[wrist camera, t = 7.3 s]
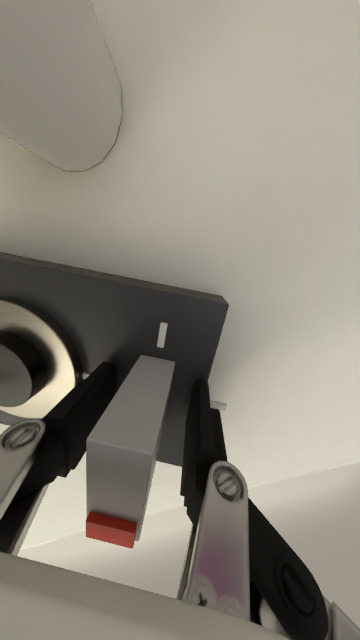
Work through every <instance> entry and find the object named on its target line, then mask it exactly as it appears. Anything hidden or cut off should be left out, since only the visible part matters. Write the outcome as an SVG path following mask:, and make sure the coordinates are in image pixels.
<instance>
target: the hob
mask: <svg viewBox="0 0 360 640" xmlns="http://www.w3.org/2000/svg"><path fill="white" fill-rule="evenodd" d="M0 297H5V298H12V299H16V300H19V301H23V302H25V303H28V304H30V305H32V306H34V307H36V308H38V309H39V310H41V311H42V312H44V313H45V314H47V315H48V316H49V317H51V318H52V319H53V320H54V321H55V322H56V323H57V324H58V325H59V326H60V327H61V328H62V329H63V330H64V331H65V333H66V334H67V335H68V337H69V338H70V340H71V341H72V343H73V345H74V347H75V349H76V351H77V353H78V356H79V359H80V364H81V370H82V378H81V381H84V380H85V379H86V378H87V377H88V376H89V375H90V374H91V373H92V372H93V371H94V370H95V369H96V368H97V367H98V366H99V365H100V364H101V363H102V362H103V361H107V362H112V363H114V366H116V384H115V394H116V393H117V391H118V390H119V388H120V386H121V385H122V383H123V382H124V380H125V379H126V377H127V376H128V374H129V373H130V371H131V369H132V368H133V366H134V365H135V363H136V362H137V360H138V359H139V357H140V355H145V356H150V357H155V358H160V359H165V360H170V361H174V362H175V367H174V373H173V378H172V383H171V389H170V394H169V400H168V405H167V411H166V416H165V421H164V426H163V431H162V436H161V440H160V445H159V450H158V454H157V459H156V461H160V462H164V463H168V464H172V465H176V466H181V467H182V465H183V451H184V438H185V425H186V417H187V413H188V409H189V404H190V400H191V396H192V392H193V387H194V383H198V381H203V382H208V378H209V374H210V371H211V367H212V364H213V360H214V356H215V353H216V349H217V346H218V342H219V339H220V335H221V331H222V328H223V324H224V321H225V317H226V314H227V310H228V306H229V304H228V303H227V302H226V301H225V300H224V298H223V297H222V296H218V295H213V294H208V293H203V292H198V291H193V290H188V289H183V288H178V287H173V286H168V285H163V284H158V283H153V282H148V281H142V280H137V279H132V278H127V277H122V276H117V275H112V274H107V273H102V272H97V271H92V270H87V269H82V268H77V267H72V266H67V265H62V264H57V263H52V262H46V261H41V260H36V259H31V258H26V257H21V256H16V255H11V254H6V253H1V252H0ZM210 407H212V408H216V409H221V410H225V409H226V404H224V403H220V402H215V401H211V400H210ZM26 419H32V418H24V417H19V416H15V415H12V414H9V413H7V412H4V411H2V410H0V423H1V424H5V425H10V426H12V425H14V424H16V423H18V422H20V421H23V420H26ZM36 419H40V420H41V419H42V418H36Z"/></svg>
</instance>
